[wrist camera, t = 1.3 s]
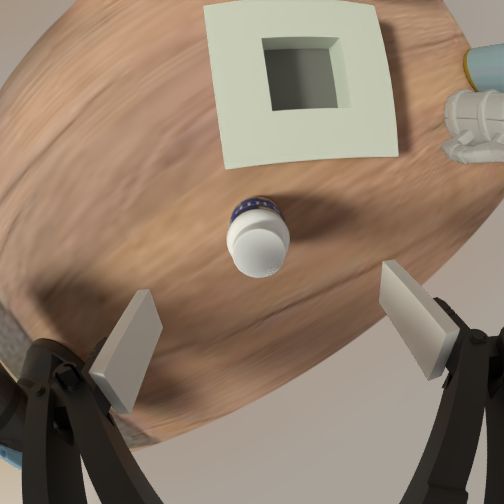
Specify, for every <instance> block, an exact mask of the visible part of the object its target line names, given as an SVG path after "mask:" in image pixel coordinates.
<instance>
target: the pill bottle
mask: <svg viewBox="0 0 504 504" xmlns="http://www.w3.org/2000/svg"><path fill="white" fill-rule="evenodd" d="M289 244H290V235H289V231H288V228H287V225H286V223H285V221H284V218H283V216H282V213H281V211H280V209H279V208H278V206H277V205H276V204H275V203H274V202H273V201H271V200H269V199H267V198H264V197H258V196H255V197H249V198H247V199H245V200H243V201H241V202H240V203H239V204H238V205H237V206H236V207H235V209H234V211H233V213H232V216H231V220H230V224H229V228H228V233H227V246H228V250H229V252H230V254H231V256H232V257H233V260H234V263H235V265H236V266H237V268H238V269H239V270H240V271H241V272H242V273H244V274H246V275H248V276H250V277H254V278H264V277H268V276H270V275H272V274H274V273H276V272H277V271H278V270H279V269H280V268H281V267H282V265H283V263H284V261H285V258H286V253H287V251H288V248H289Z"/></svg>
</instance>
